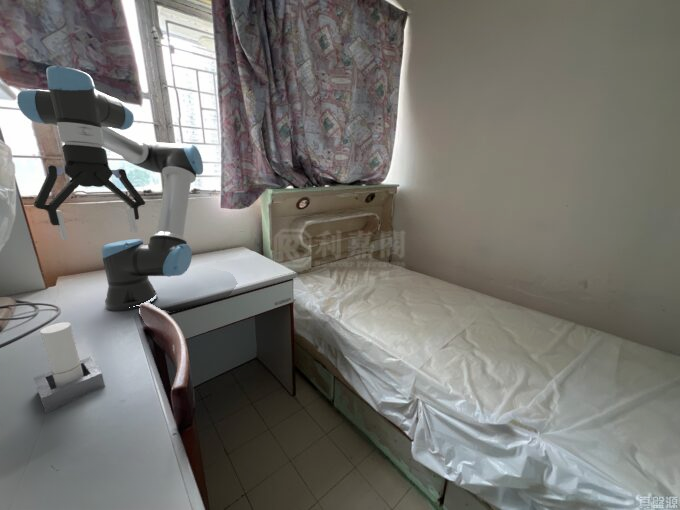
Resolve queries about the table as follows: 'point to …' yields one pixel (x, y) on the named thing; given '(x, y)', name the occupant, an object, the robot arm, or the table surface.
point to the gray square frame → (69, 386)
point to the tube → (62, 353)
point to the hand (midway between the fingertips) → (101, 235)
